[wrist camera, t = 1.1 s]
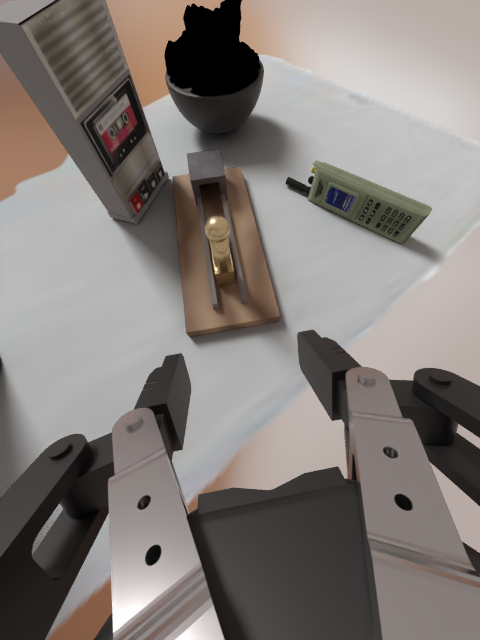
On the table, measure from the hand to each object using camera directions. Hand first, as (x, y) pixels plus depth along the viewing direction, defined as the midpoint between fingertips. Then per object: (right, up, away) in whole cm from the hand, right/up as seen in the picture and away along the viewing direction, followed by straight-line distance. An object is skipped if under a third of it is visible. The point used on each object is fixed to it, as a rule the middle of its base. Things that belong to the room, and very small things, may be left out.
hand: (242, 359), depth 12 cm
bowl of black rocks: (-5, +48, +45) cm, 66 cm away
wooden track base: (-4, +16, +31) cm, 35 cm away
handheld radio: (+19, +23, +34) cm, 45 cm away
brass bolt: (-3, +11, +27) cm, 29 cm away
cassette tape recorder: (-20, +27, +37) cm, 50 cm away
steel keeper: (-6, +27, +34) cm, 44 cm away
